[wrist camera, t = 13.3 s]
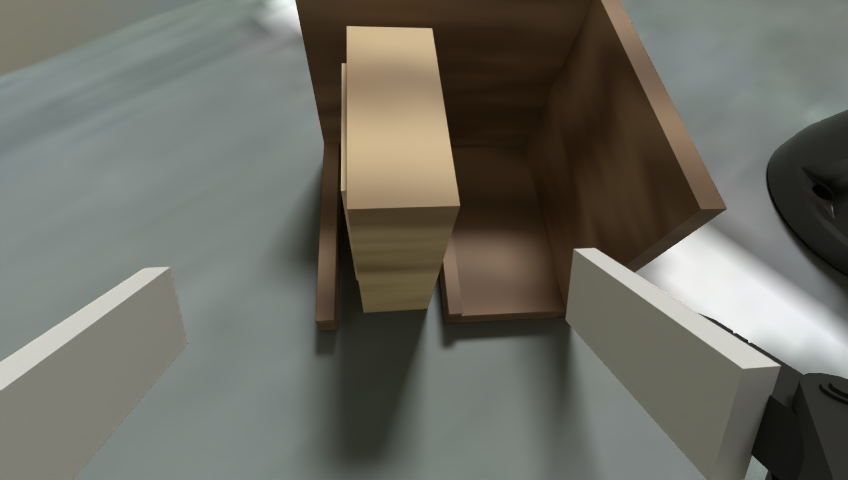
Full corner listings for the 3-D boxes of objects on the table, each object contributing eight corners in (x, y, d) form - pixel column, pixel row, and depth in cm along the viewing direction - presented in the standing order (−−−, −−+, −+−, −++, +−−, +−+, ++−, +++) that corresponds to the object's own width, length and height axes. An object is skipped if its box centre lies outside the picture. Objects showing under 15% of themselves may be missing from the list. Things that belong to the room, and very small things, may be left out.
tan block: (427, 308, 25) (460, 205, 14) (358, 313, 24) (338, 209, 13) (414, 179, 29) (431, 28, 19) (356, 181, 29) (340, 26, 18)
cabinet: (570, 316, 25) (726, 208, 14) (320, 330, 23) (259, 219, 12) (527, 150, 31) (609, -20, 20) (328, 150, 30) (292, -35, 18)
